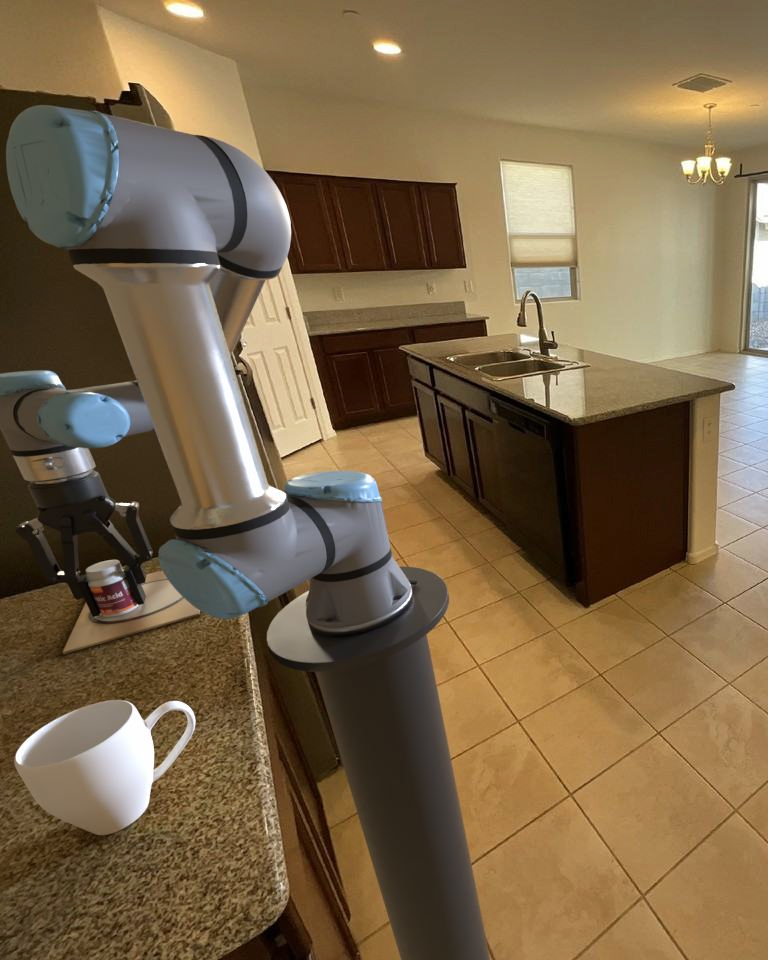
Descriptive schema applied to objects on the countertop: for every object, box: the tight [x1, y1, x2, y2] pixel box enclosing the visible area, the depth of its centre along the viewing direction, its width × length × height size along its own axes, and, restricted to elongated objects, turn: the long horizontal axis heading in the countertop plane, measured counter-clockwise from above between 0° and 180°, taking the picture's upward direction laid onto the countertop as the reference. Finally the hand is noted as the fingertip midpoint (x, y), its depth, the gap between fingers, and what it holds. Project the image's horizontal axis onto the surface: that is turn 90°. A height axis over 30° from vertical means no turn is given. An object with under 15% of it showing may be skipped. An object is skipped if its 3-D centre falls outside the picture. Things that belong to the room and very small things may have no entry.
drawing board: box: [62, 569, 201, 655], centre depth 90 cm, size 16×22×1 cm
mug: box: [13, 699, 196, 836], centre depth 53 cm, size 12×8×11 cm
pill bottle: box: [85, 559, 139, 617], centre depth 85 cm, size 5×5×8 cm
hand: (120, 606), depth 87 cm, fingers closed on pill bottle, 5 cm apart
